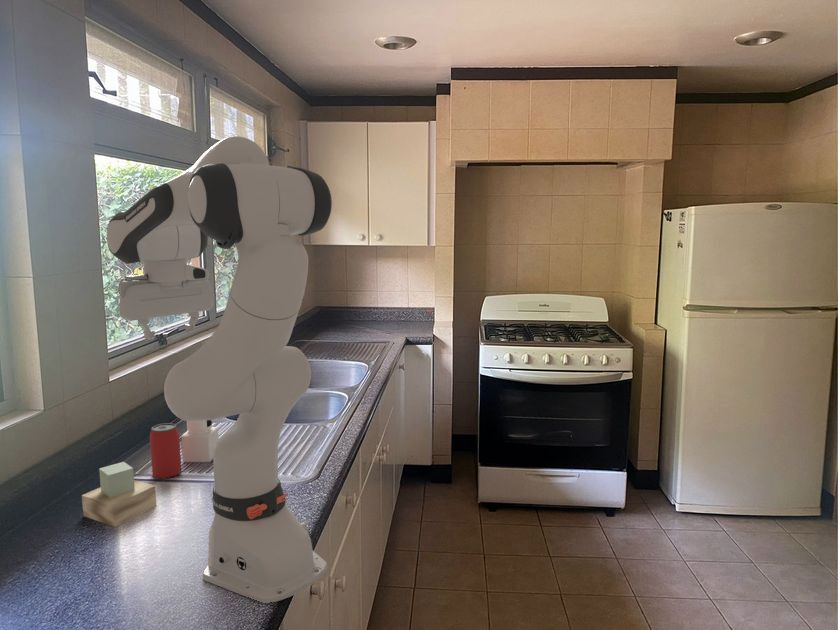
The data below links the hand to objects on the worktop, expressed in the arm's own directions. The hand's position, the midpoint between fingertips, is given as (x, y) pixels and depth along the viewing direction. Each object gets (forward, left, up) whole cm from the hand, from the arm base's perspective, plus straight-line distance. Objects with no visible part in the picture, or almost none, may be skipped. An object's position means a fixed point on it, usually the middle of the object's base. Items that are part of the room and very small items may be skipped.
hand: (170, 335), depth 135 cm
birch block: (+1, +14, -36) cm, 39 cm away
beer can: (+11, -2, -36) cm, 38 cm away
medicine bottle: (+14, -13, -36) cm, 41 cm away
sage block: (+1, +14, -32) cm, 34 cm away
